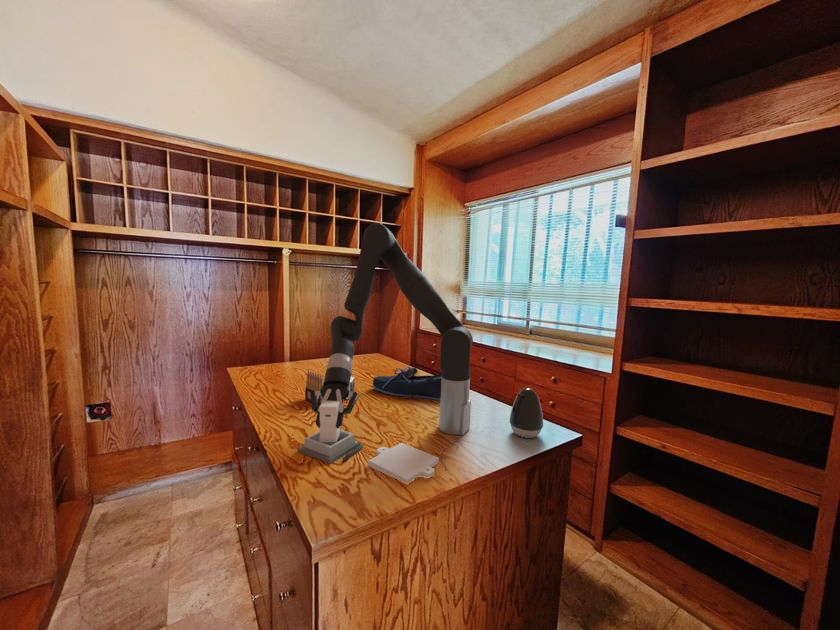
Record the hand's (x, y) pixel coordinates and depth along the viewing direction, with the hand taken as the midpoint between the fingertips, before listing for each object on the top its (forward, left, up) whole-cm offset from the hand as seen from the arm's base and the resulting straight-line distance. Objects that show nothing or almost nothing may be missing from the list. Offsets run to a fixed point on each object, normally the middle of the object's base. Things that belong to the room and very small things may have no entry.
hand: (328, 426), depth 94 cm
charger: (+1, -2, -4) cm, 5 cm away
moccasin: (+6, -55, -7) cm, 56 cm away
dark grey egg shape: (-44, -42, -7) cm, 61 cm away
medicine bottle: (+27, -37, -7) cm, 46 cm away
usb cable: (-7, -3, -7) cm, 10 cm away
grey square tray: (+1, -2, -7) cm, 7 cm away
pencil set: (+31, -25, -7) cm, 40 cm away
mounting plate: (-21, -6, -8) cm, 23 cm away
